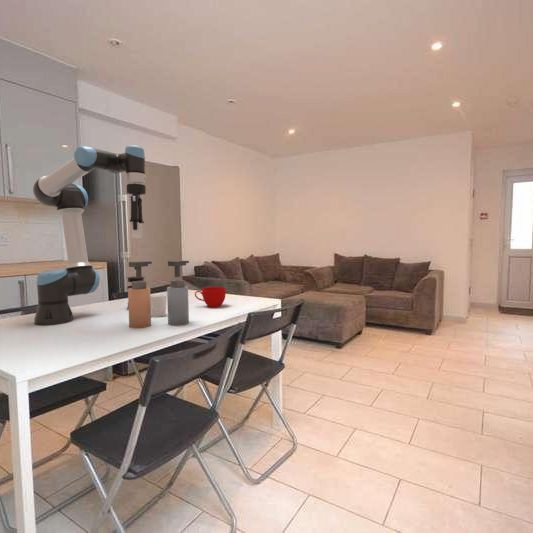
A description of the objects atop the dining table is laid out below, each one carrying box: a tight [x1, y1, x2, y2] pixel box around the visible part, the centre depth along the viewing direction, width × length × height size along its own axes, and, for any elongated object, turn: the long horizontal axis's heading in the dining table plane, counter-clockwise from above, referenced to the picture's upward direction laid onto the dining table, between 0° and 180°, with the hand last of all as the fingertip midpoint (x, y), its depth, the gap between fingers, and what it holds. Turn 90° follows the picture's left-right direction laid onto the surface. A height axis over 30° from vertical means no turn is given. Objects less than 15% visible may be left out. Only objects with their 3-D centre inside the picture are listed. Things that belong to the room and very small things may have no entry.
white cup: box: [150, 293, 167, 318], centre depth 174 cm, size 8×8×10 cm
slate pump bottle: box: [166, 279, 190, 326], centre depth 158 cm, size 9×9×19 cm
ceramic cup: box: [194, 286, 227, 308], centre depth 197 cm, size 13×17×10 cm
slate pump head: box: [167, 260, 190, 278], centre depth 158 cm, size 10×4×7 cm, turn 147°
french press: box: [126, 267, 146, 311], centre depth 192 cm, size 12×9×23 cm
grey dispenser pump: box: [128, 260, 153, 278], centre depth 154 cm, size 10×4×7 cm, turn 147°
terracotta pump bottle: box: [127, 280, 152, 329], centre depth 153 cm, size 9×9×19 cm
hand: (137, 238), depth 151 cm, fingers open, 9 cm apart
